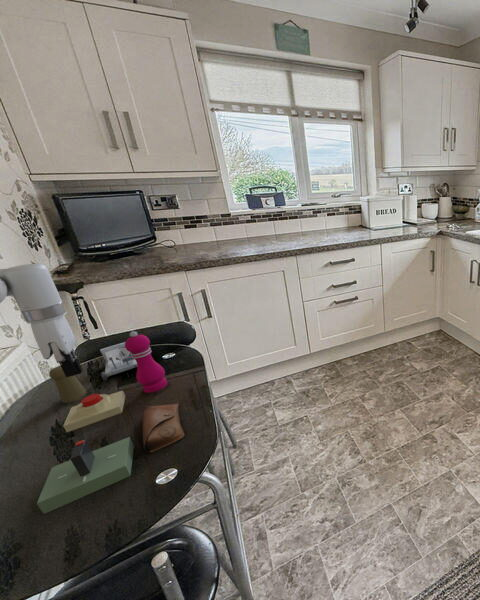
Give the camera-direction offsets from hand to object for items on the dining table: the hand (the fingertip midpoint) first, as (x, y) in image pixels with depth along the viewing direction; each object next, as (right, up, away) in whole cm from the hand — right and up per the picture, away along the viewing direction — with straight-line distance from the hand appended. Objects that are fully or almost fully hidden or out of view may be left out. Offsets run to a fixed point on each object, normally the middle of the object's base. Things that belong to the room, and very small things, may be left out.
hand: (74, 374), depth 90 cm
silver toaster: (-11, -5, +29) cm, 32 cm away
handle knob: (+21, -16, -18) cm, 32 cm away
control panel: (+21, -19, -17) cm, 33 cm away
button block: (+2, -13, +5) cm, 14 cm away
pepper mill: (+11, -8, +16) cm, 21 cm away
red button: (+1, -9, +4) cm, 10 cm away
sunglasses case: (+27, -13, -3) cm, 30 cm away
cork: (-15, -11, +15) cm, 23 cm away
